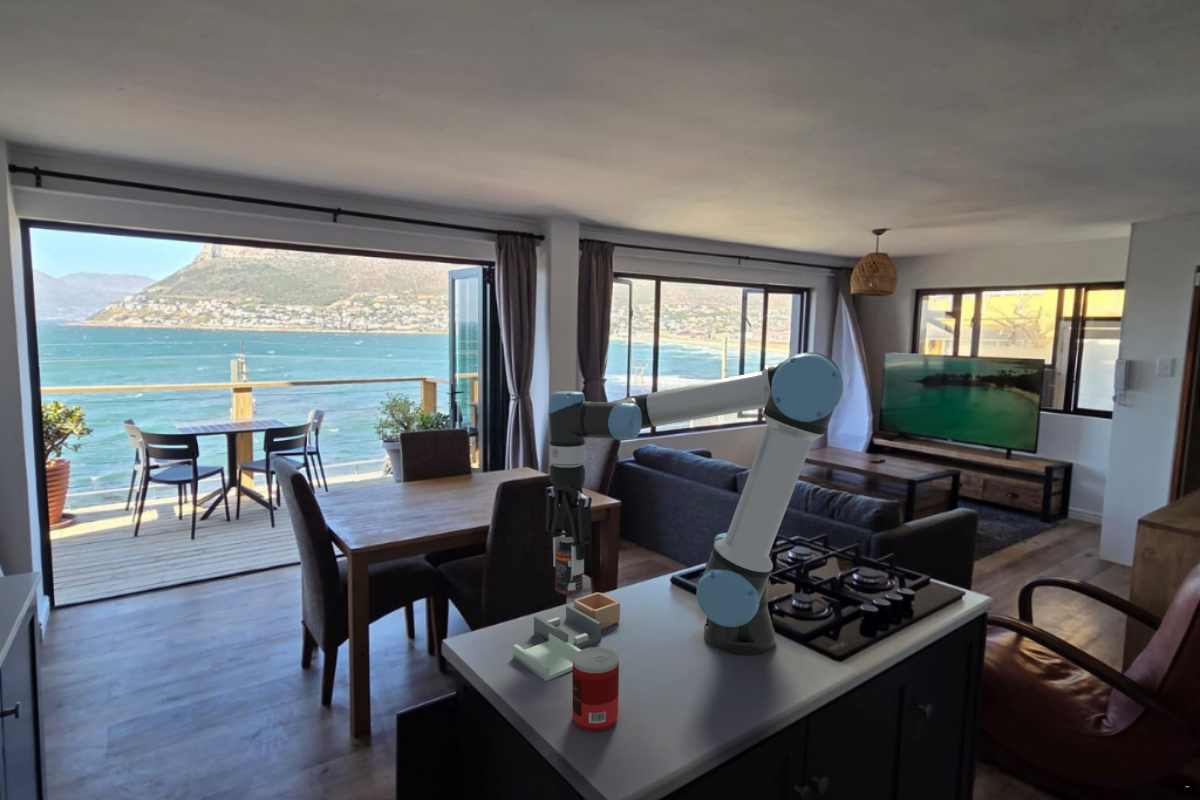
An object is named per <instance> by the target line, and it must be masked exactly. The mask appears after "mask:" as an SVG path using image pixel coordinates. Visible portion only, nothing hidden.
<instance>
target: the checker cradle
mask: <svg viewBox="0 0 1200 800" xmlns="http://www.w3.org/2000/svg"><path fill="white" fill-rule="evenodd" d="M549 633H551V634H553V635H554V636H556V637H557V638H559V639H561V640H562V641H564V642H567V641H568V642H569V643H571V644H572V645H574V646H576V647H577V648H579V649H580V650H581V649H582V648H583V649H584V648H585V647H588V646H590V645H593V644H596V643H598V642H600V641H602V636H601V635H602V629H601V623H600V622H599V621H597V620H595V619H593V618H591V617H589V616H588V615H586V614H584V613H582V612H580V611H578V610H577V609H575V608H574V606H571V605H569V604H568V605H566V606H565V618H564V619H561V618H560V617H559V616H558V617H555V618H551V619H549V620H544V619H543V618H541V617H539V616H538V615H534V616H533V634H534V636H536V637H538V638H539V639H541V640H543V641H544V642H545V641H546V642H547V641H549Z"/></svg>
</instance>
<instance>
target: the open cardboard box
mask: <svg viewBox="0 0 1200 800" xmlns="http://www.w3.org/2000/svg"><path fill="white" fill-rule="evenodd" d="M573 608H575V609H577V610H578V611H580V612H582V613H584V614H586V615H588V616H589V617H591V618H593V619H595V620H597V621H599V622H600V623H601V630H603V629H607V628H609V627H611V626H613V625H614V624H617V623H619V622H620V621H621V617H620V615H621V614H620V613H621V603H620V601H619V600H616V599H615V598H613V597H611V596H608V595H607V594H605V593H603V592H598V591H597V592H593V593H590V594H589V595H585V596H582V597H579V598H576V599H573Z"/></svg>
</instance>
